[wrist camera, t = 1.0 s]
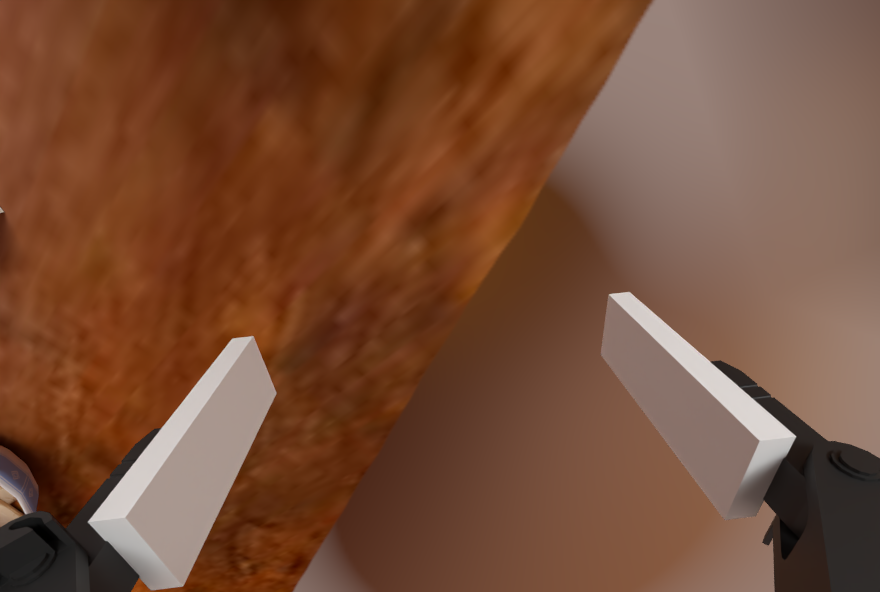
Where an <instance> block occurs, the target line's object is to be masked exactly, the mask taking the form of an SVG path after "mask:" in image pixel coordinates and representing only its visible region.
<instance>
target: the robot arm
mask: <svg viewBox="0 0 880 592" xmlns="http://www.w3.org/2000/svg"><path fill="white" fill-rule="evenodd" d="M601 355H602V357H603V358H604V360H605V361H606V362H607V364H608V365H609V366H610V367H611V369H612V370H613V372H614V373H615V374H616V376H617V377H618V378H619V380H620V381H621V382H622V383H623V385H624V386H625V388H626V389H627V390H628V392H629V393H630V394H631V396H632V397H633V398H634V400H635V401H636V402H637V404H638V405H639V406H640V408H641V409H642V410H643V412H644V413H645V414H646V416H647V417H648V418H649V420H650V421H651V422H652V424H653V425H654V426H655V428H656V429H657V430H658V432H659V433H660V434H661V436H662V437H663V438H664V440H665V441H666V442H667V444H668V445H669V446H670V448H671V449H672V450H673V452H674V453H675V454H676V456H677V457H678V458H679V460H680V461H681V462H682V463H683V465H684V466H685V468H686V469H687V470H688V472H689V473H690V474H691V476H692V477H693V479H694V480H695V481H696V482H697V484H698V485H699V487H700V488H701V489H702V491H703V492H704V493H705V494H706V496H707V497H708V498H709V500H710V501H711V502H712V504H713V505H714V507H715V508H716V509H717V510H718V512H719V513H720V515H721V516H722V517H723V518H724V520H730V519H738V518H746V517H754V516H756V515H757V513H758V511H759V509H760V507H761V505H762V503H763V501H765V502H766V503H767V504H768V505H769V506H770V507H771V509H772V510H773V511H774V512H775V513H776V516H775V518H774V520H773V521H772V523H771V525H770V527H769V529H768V531H767V532H766V534H765V536H764V539H763V543H764V544H766V545H769V544H770V542H771V540H772V538H773V552H774V584H775V592H880V458H878V457H876V456H875V455H873V454H871V453H870V452H868V451H865V450H863V449H860V448H858V447H855V446H852V445H850V444H845V443H840V442H836V441H827V440H826V439H824V438H823V437H822V436H821V435H820V434H818V433H817V432H816V431H815V430H813V429H812V428H811V427H810V426H808V425H807V424H806V423H805V422H803V421H802V420H801V419H800V418H799V417H797V416H796V415H795V414H793V413H792V412H791V411H790V410H788V409H787V408H786V407H785V406H784V405H783V404H781V403H780V402H779V401H778V400H776V399H775V398H771V395H770V394H769V393H767V392H766V391H765V390H764V389H763V388H762V387H758V386H757V383H755V382H754V381H753V380H752V379H750V378H749V377H748V376H747V375H745V374H744V373H743V372H742V371H740V370H738V369H736V368H734V367H732V366H730V365H728V364H726V363H724V362H722V361H712V362H710V361H708V360H707V359H706V358H705V357H704V356H703V355H701V354H700V353H699V352H698V351H697V350H696V349H695V348H693V347H692V346H691V345H690V344H689V343H688V342H686V341H685V340H684V339H683V338H682V337H681V336H680V335H678V334H677V333H676V332H675V331H674V330H673V329H671V328H670V327H669V326H668V325H667V324H665V322H663V321H662V320H661V319H660V318H659V317H658V316H656V315H655V314H654V313H653V312H652V311H651V310H649V309H648V308H647V307H646V306H645V305H644V304H643V303H641V302H640V301H639V300H638V299H637V298H636V297H634V296H633V295H632V294H631V293H630V292H626V293H617V294H609V296H608V304H607V311H606V319H605V326H604V334H603V341H602V349H601ZM275 395H276V391H275V388H274V386H273V383H272V381H271V378H270V376H269V373H268V371H267V369H266V366H265V364H264V361H263V359H262V356H261V354H260V351H259V349H258V346H257V344H256V342H255V339H254V337H253V336H250V337H242V338H233V339H232V340H231V341H230V342H229V344H228V345H227V346H226V347H225V349H224V350H223V351H222V352H221V354H220V355H219V356H218V357H217V359H216V360H215V361H214V363H213V364H212V365H211V366H210V368H209V369H208V370H207V371H206V373H205V374H204V375H203V377H202V378H201V379H200V380H199V382H198V383H197V384H196V385H195V387H194V388H193V389H192V390H191V392H190V393H189V394H188V396H187V397H186V398H185V399H184V401H183V402H182V403H181V404H180V406H179V407H178V408H177V410H176V411H175V412H174V413H173V415H172V416H171V417H170V418H169V420H168V421H167V422H166V423H165V425H164V426H163V427H162V428H159V429H154V430H153V431H151V432H150V433H149V434H148V435H146V436H145V437H144V438H143V439H142V440H140V441H139V442H138V443H137V444H135V446H134V447H133V448H132V449H131V450H130V452H129V453H128V454H127V455H126V456H125V458H124V459H123V460H122V464H119V465H118V466H117V467H116V469H115V470H114V471H113V472H112V473H111V475H110V478H109V479H106V481H105V482H104V483H103V484H102V485H101V487H100V488H99V489H98V490H97V491H96V493H95V494H94V495H93V496H92V498H91V499H90V500H89V501H88V502H87V504H86V505H85V506H84V507H83V508H82V510H81V511H80V512H79V513H78V514H77V516H76V517H75V518H74V519H73V520H72V522H71V523H70V524H69V525H68V527H67V528H66V529H65V528H64V527H63V526H62V525H61V524H60V523H59V522H58V521H57V520H56V519H55V518H54V517H53V516H52V515H51V514H50V513H48V512H43V511H38V512H33V513H28V514H25V515H23V516H21V517H19V518H16V519H14V520H12V521H10V522H8V523H7V524H5V525H3V526H2V527H0V592H131V590H132V589H133V587H134V585H135V584H136V582H137V580H138V578H140V579H141V580H142V581H143V582H144V583H145V584H146V585H147V587H148V588H149V589H150V590H158V589H166V588H174V587H183V585H184V583H185V581H186V579H187V577H188V575H189V573H190V571H191V569H192V567H193V565H194V563H195V561H196V559H197V557H198V554H199V552H200V550H201V548H202V546H203V544H204V542H205V540H206V538H207V536H208V534H209V532H210V530H211V528H212V525H213V523H214V521H215V519H216V517H217V515H218V513H219V511H220V509H221V507H222V505H223V503H224V501H225V499H226V497H227V494H228V492H229V490H230V488H231V486H232V484H233V482H234V480H235V478H236V476H237V474H238V472H239V470H240V468H241V466H242V463H243V461H244V459H245V457H246V455H247V453H248V451H249V449H250V447H251V445H252V443H253V441H254V439H255V437H256V435H257V432H258V430H259V428H260V426H261V424H262V422H263V420H264V418H265V416H266V414H267V412H268V410H269V408H270V406H271V404H272V401H273V399H274V397H275Z"/></svg>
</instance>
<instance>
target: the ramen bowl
mask: <svg viewBox="0 0 880 592" xmlns="http://www.w3.org/2000/svg"><path fill="white" fill-rule="evenodd" d="M38 497H39V493H38V485H37V483H36V481H35V479H34V477H33V475H32V473H31V471H30V469H29V468H28V466H27V464H26V463H24V462H23V461H22V460H21V459H20V458H19V457H17V456H16V455H15V454H14V453H13V452H11V451H10V450H9V449H7V448H5V447H3V446H1V445H0V527H2V526H3V525H5V524H7V523H8V522H10V521H12V520H14V519H16V518H19V517H21V516H23V515H25V514H28V513H33V512H36V509H37V503H38Z"/></svg>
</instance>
